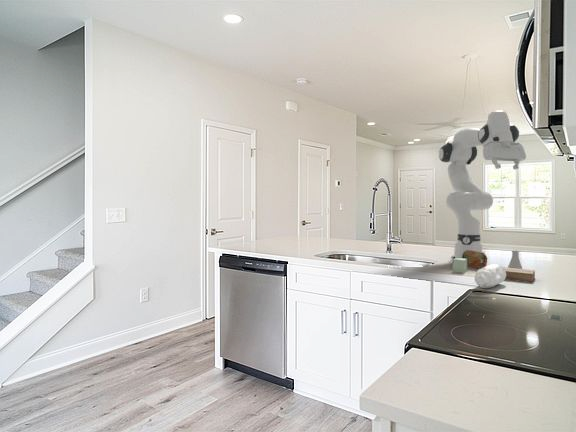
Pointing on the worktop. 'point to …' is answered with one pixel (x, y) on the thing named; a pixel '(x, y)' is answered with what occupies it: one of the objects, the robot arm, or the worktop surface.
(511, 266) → the flask
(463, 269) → the sage block
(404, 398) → the worktop surface
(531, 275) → the brown block
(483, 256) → the tin
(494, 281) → the white plastic bottle
